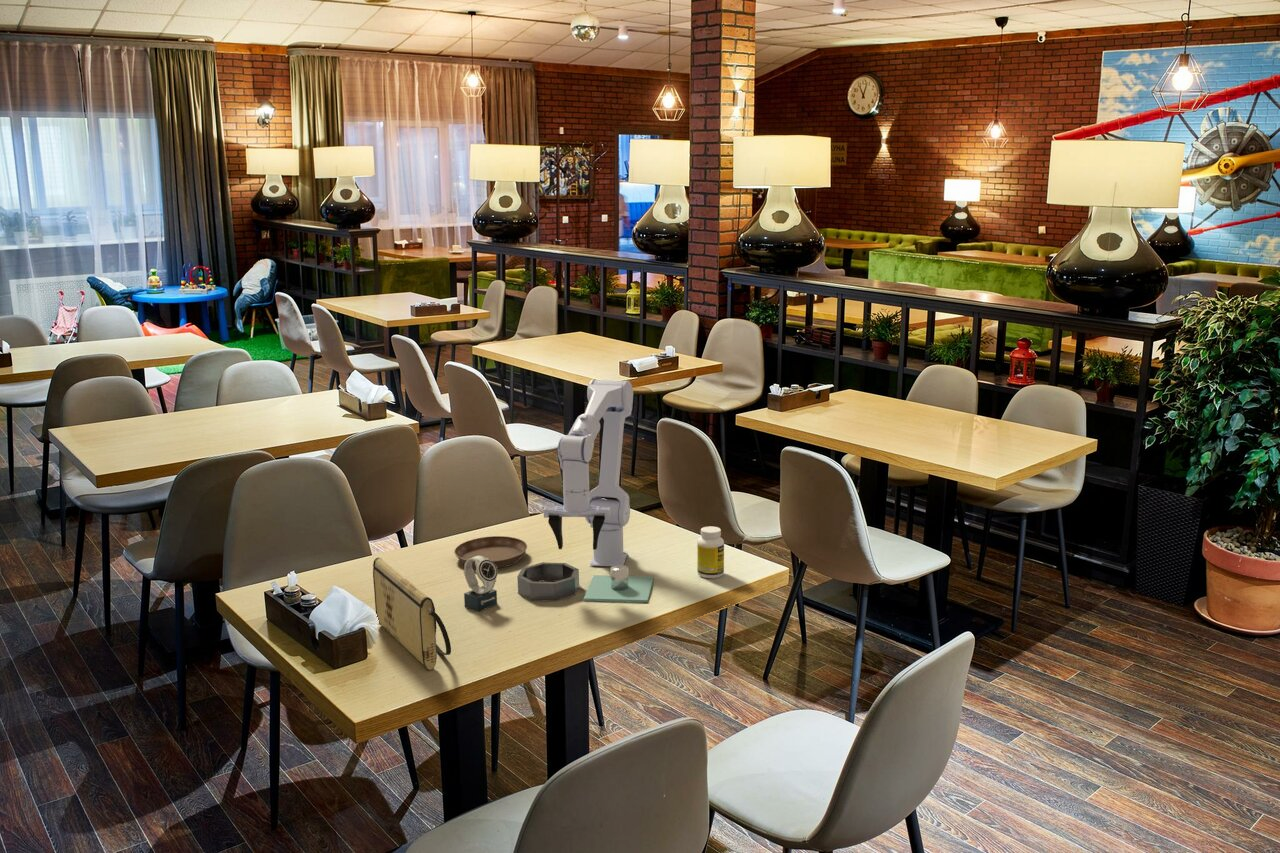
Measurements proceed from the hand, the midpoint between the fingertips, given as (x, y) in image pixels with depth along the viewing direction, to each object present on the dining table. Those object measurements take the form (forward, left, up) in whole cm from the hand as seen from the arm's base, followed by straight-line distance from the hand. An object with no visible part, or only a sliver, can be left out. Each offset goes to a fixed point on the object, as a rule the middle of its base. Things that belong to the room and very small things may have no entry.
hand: (577, 548), depth 236 cm
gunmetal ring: (-1, -7, -10) cm, 13 cm away
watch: (+9, -20, -11) cm, 24 cm away
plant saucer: (-20, -25, -11) cm, 34 cm away
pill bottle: (-13, +29, -11) cm, 33 cm away
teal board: (-2, +9, -10) cm, 14 cm away
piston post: (-2, +9, -10) cm, 14 cm away
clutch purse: (+29, -28, -11) cm, 42 cm away
